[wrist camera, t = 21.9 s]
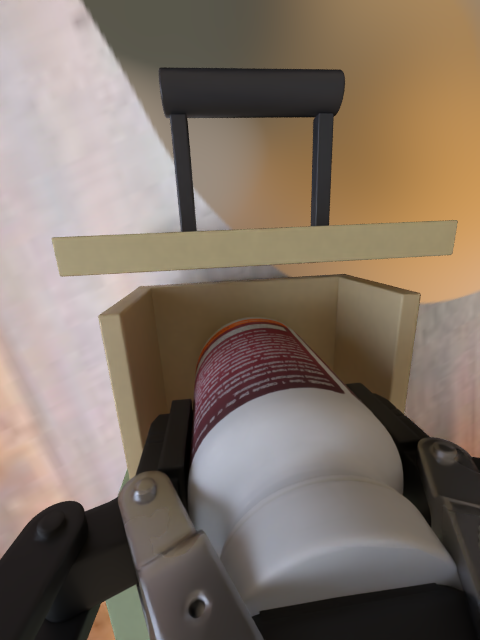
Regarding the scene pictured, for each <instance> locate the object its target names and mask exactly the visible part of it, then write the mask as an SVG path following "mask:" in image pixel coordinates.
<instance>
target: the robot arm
mask: <svg viewBox="0 0 480 640" xmlns="http://www.w3.org/2000/svg"><path fill="white" fill-rule="evenodd" d="M345 385H346V386H347V387H348V388H349V389H350V390H351V391H352V392H353V393H354V394H355V395H356V396H357V397H358V398H359V399H360V400H361V401H362V402H363V403H364V404H365V405H366V406H367V408H368V409H369V410H370V411H371V412H372V413H373V414H374V416H375V417H376V418H377V419H378V420H379V421H380V422H381V423H382V424H383V426H384V427H385V428H386V429H387V431H388V432H389V434H390V435H391V437H392V439H393V441H394V443H395V445H396V447H397V450H398V452H399V455H400V459H401V462H402V468H403V479H404V487H403V495H402V496H404V497H405V498H407V499H408V500H409V501H410V502H411V503H412V504H413V505H414V506H415V507H416V508H417V509H418V510H419V512H420V513H421V514H422V516H423V517H424V518H425V520H426V521H427V523H428V524H429V526H430V527H431V529H432V530H433V531H434V533H435V534H436V536H437V537H438V539H439V540H440V541H441V543H442V544H443V546H444V547H445V548H446V550H447V551H448V553H449V554H450V555H451V557H452V558H453V560H454V561H455V563H456V566H457V573H458V576H459V579H460V582H461V586H462V589H463V591H462V590H459V589H456V588H454V587H451V586H447V585H440V584H436V583H429V584H422V585H415V586H409V587H402V588H395V589H389V590H382V591H375V592H369V593H362V594H355V595H348V596H342V597H336V598H330V599H324V600H319V601H313V602H307V603H302V604H296V605H291V606H285V607H279V608H274V609H268V610H262V611H259V613H260V614H257V615H255V616H252V617H251V615H250V613H249V611H248V610H247V608H246V606H245V604H244V602H243V600H242V599H241V597H240V595H239V593H238V591H237V589H236V588H235V586H234V584H233V582H232V580H231V578H230V577H229V575H228V573H227V571H226V569H225V567H224V566H223V564H222V562H221V560H220V558H219V556H218V555H217V553H216V551H215V549H214V547H213V546H212V544H211V542H210V540H209V538H208V537H207V535H206V533H205V532H204V531H203V530H202V529H200V530H199V531H197V530H196V529H195V527H194V525H193V523H192V521H191V519H190V517H189V511H188V476H189V459H190V445H191V431H192V415H193V409H192V400H191V399H181V400H173V401H172V404H171V409H170V413H169V414H160V415H158V416H157V418H156V419H155V420H154V421H153V422H152V423H151V426H150V429H149V432H148V435H147V439H146V444H145V445H144V449H143V452H142V455H141V458H140V462H139V465H138V468H137V471H136V475H135V476H134V477H133V478H131V479H130V480H129V481H128V482H127V483H126V484H125V485H124V486H123V488H122V489H121V491H120V493H119V496H118V497H117V498H115V499H114V500H112V501H110V502H108V503H105V504H103V505H100V506H98V507H95V508H93V509H90V510H88V511H84V508H83V506H82V505H81V504H80V503H78V502H75V501H65V502H60V503H57V504H54V505H52V506H50V507H48V508H46V509H45V510H43V511H42V512H40V513H39V514H37V515H36V516H35V517H34V518H33V519H32V520H31V521H30V522H29V523H28V524H27V525H26V526H25V528H24V529H23V530H22V532H21V533H20V534H19V536H18V537H17V538H16V540H15V541H14V542H13V544H12V545H11V546H10V548H9V549H8V550H7V552H6V553H5V554H4V556H3V557H2V558H1V560H0V640H87V638H88V635H89V633H90V630H91V628H92V625H93V622H94V620H95V617H96V615H97V612H98V610H99V607H100V604H101V603H102V602H104V601H106V600H108V599H110V598H111V597H113V596H115V595H117V594H119V593H121V592H123V591H125V590H127V589H128V588H130V587H132V586H134V585H136V587H137V591H138V595H139V599H140V603H141V606H142V610H143V614H144V618H145V622H146V626H147V630H148V634H149V638H150V640H480V458H476V457H471V456H470V455H469V454H468V452H466V451H465V450H464V449H463V448H461V447H460V446H458V445H456V444H454V443H452V442H450V441H447V440H444V439H440V438H434V437H429V436H428V435H427V434H426V433H425V432H423V431H422V430H421V429H420V428H419V427H418V426H417V425H416V424H414V423H413V422H412V421H411V420H410V419H409V418H408V417H407V416H404V414H403V413H402V412H401V411H400V410H399V409H396V407H395V406H394V405H393V404H392V403H391V402H390V401H389V400H387V399H386V398H384V397H382V396H380V395H378V394H376V393H372V392H371V391H370V390H368V389H367V388H366V387H365V386H364V385H363V384H362V383H349V384H345Z"/></svg>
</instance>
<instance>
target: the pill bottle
mask: <svg viewBox="0 0 480 640" xmlns="http://www.w3.org/2000/svg"><path fill="white" fill-rule="evenodd" d="M403 487H404V479H403V468H402V462H401V459H400V455H399V452H398V450H397V447H396V445H395V443H394V441H393V439H392V437H391V435H390V434H389V432H388V431H387V429H386V428H385V427H384V426H383V424H382V423H381V422H380V421H379V420H378V419H377V418H376V417H375V416H374V414H373V413H372V412H371V411H370V410H369V409H368V408H367V406H366V405H365V404H364V403H363V402H362V401H361V400H360V399H359V398H358V397H357V396H356V395H355V394H354V393H353V392H352V391H351V390H350V389H349V388H348V387H347V386H346V385H345V384H344V383H343V381H341V379H340V378H339V377H338V376H337V375H336V374H335V373H334V372H333V371H332V370H331V369H330V368H329V367H328V366H327V365H326V364H325V362H324V361H323V360H322V359H321V358H320V357H319V356H318V355H317V354H316V353H315V352H314V351H313V350H312V349H311V348H310V347H309V346H308V345H307V343H306V342H305V341H304V340H303V339H302V338H301V337H300V336H299V335H298V334H297V333H296V332H295V331H293V330H292V329H291V328H290V327H288V326H287V325H285V324H283V323H281V322H279V321H276V320H274V319H269V318H264V317H247V318H242V319H238V320H235V321H232V322H230V323H228V324H226V325H224V326H223V327H221V328H220V329H218V330H217V331H216V332H215V333H214V334H213V335H212V336H211V337H210V338H209V339H208V340H207V342H206V343H205V345H204V346H203V348H202V350H201V352H200V354H199V357H198V361H197V366H196V372H195V386H194V400H193V415H192V431H191V445H190V459H189V476H188V511H189V517H190V519H191V521H192V523H193V525H194V527H195V529H196V530H197V531H199V530H200V529H202V530H203V531H204V532H205V533H206V535H207V537H208V538H209V540H210V542H211V544H212V546H213V547H214V549H215V551H216V553H217V555H218V556H219V558H220V560H221V562H222V564H223V566H224V567H225V569H226V571H227V573H228V575H229V577H230V578H231V580H232V582H233V584H234V586H235V588H236V589H237V591H238V593H239V595H240V597H241V599H242V600H243V602H244V604H245V606H246V608H247V610H248V611H249V613H250V615H251V617H252V616H255V615H257V614H260V613H259V611H262V610H268V609H274V608H279V607H285V606H291V605H296V604H302V603H307V602H313V601H319V600H324V599H330V598H336V597H342V596H348V595H355V594H362V593H369V592H375V591H382V590H389V589H395V588H402V587H409V586H415V585H422V584H429V583H436V584H440V585H447V586H451V587H454V588H456V589H459V590H462V591H463V589H462V586H461V582H460V579H459V576H458V573H457V566H456V563H455V561H454V560H453V558H452V557H451V555H450V554H449V553H448V551H447V550H446V548H445V547H444V546H443V544H442V543H441V541H440V540H439V539H438V537H437V536H436V534H435V533H434V531H433V530H432V529H431V527H430V526H429V524H428V523H427V521H426V520H425V518H424V517H423V516H422V514H421V513H420V512H419V510H418V509H417V508H416V507H415V506H414V505H413V504H412V503H411V502H410V501H409V500H408V499H407V498H405V497H404V496H402V495H403Z"/></svg>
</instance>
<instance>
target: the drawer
mask: <svg viewBox="0 0 480 640" xmlns="http://www.w3.org/2000/svg"><path fill="white" fill-rule="evenodd" d="M159 84H160V93H161V99H162V106H163V110H164V114H165V117H166V118H170V123H171V134H172V144H173V154H174V164H175V174H176V185H177V195H178V205H179V215H180V225H181V232H170V233H147V234H124V235H100V236H77V237H54V238H52V243H53V247H54V252H55V256H56V261H57V265H58V270H59V274H60V276H62V277H63V276H81V275H99V274H117V273H134V272H152V271H170V270H188V269H206V268H224V267H242V266H260V265H278V264H294V263H295V264H296V263H312V262H313V263H314V262H332V261H349V260H368V259H385V258H404V257H422V256H440V255H451V254H452V253H453V247H454V240H455V234H456V228H457V222H458V221H457V220H451V221H450V220H449V221H426V222H402V223H381V224H380V223H379V224H356V225H333V226H329V211H330V188H331V163H332V141H333V139H332V138H333V117H334V116H335V115H336V114H337V113H338V111H339V109H340V106H341V103H342V100H343V95H344V88H345V77H344V73H343V71H342V70H323V69H322V70H321V69H320V70H319V69H237V68H231V69H230V68H159ZM251 117H253V118H256V117H259V118H260V117H262V118H263V117H315V119H314V122H313V160H312V198H311V199H312V200H311V226H309V227H286V228H263V229H243V230H242V229H240V230H216V231H197V229H196V217H195V205H194V193H193V181H192V169H191V157H190V145H189V133H188V121H187V118H251ZM420 296H421V295H420V293H417V292H413V291H409V290H405V289H401V288H397V287H393V286H390V285H386V284H382V283H378V282H374V281H370V280H365V279H362V278H358V277H354V276H350V275H346V274H337V275H322V276H321V275H320V276H303V277H287V278H270V279H254V280H237V281H220V282H204V283H187V284H171V285H154V286H140V287H138V288H137V289H136V290H135V291H133V292H132V293H130V294H129V295H127V296H126V297H124V298H123V299H122V300H120V301H119V302H117V303H116V304H114V305H113V306H112V307H110V308H109V309H107V310H106V311H104V312H103V313H102V314H100V315H99V317H98V318H99V323H100V329H101V334H102V339H103V344H104V349H105V354H106V360H107V365H108V370H109V375H110V380H111V385H112V390H113V396H114V401H115V406H116V411H117V416H118V421H119V427H120V432H121V437H122V442H123V447H124V452H125V458H126V463H127V468H128V473H129V478H130V479H131V478H133V477H134V476H135V475H136V471H137V468H138V465H139V462H140V458H141V455H142V452H143V449H144V445H145V444H146V439H147V435H148V432H149V429H150V426H151V423H152V422H153V421H154V420H155V419H156V418H157V416H158V415H160V414H169V413H170V409H171V404H172V401H173V400H181V399H191V400H192V409H193V400H194V386H195V372H196V366H197V361H198V357H199V354H200V352H201V350H202V348H203V346H204V345H205V343H206V342H207V340H208V339H209V338H210V337H211V336H212V335H213V334H214V333H215V332H216V331H217V330H218V329H220V328H221V327H223V326H224V325H226V324H228V323H230V322H232V321H235V320H238V319H242V318H247V317H264V318H269V319H274V320H276V321H279V322H281V323H283V324H285V325H287V326H288V327H290V328H291V329H292V330H293V331H295V332H296V333H297V334H298V335H299V336H300V337H301V338H302V339H303V340H304V341H305V342H306V343H307V345H308V346H309V347H310V348H311V349H312V350H313V351H314V352H315V353H316V354H317V355H318V356H319V357H320V358H321V359H322V360H323V361H324V362H325V364H326V365H327V366H328V367H329V368H330V369H331V370H332V371H333V372H334V373H335V374H336V375H337V376H338V377H339V378H340V379H341V381H343V383H344V384H349V383H362V384H363V385H364V386H365V387H366V388H367V389H368V390H370V391H371V392H372V393H376V394H378V395H380V396H382V397H384V398H386V399H387V400H389V401H390V402H391V403H392V404H393V405H394V406H395V407H396V409H399V410H400V411H401V412H402V413H403V414H404V411H405V404H406V396H407V389H408V382H409V375H410V368H411V361H412V353H413V346H414V339H415V332H416V325H417V318H418V310H419V303H420Z"/></svg>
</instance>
